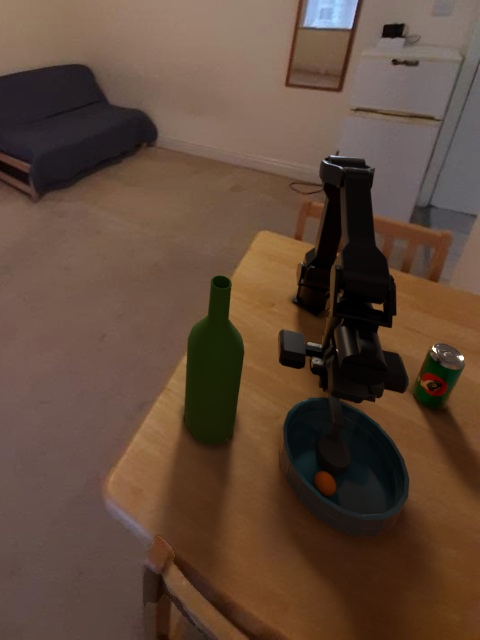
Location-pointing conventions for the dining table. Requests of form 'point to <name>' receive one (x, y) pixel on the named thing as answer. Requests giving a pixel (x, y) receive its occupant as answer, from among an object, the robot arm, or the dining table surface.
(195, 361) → the wine bottle
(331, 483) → the orange ball
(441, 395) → the soda can
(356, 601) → the dining table surface
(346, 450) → the ladle
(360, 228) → the robot arm
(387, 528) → the bowl
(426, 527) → the dining table surface
